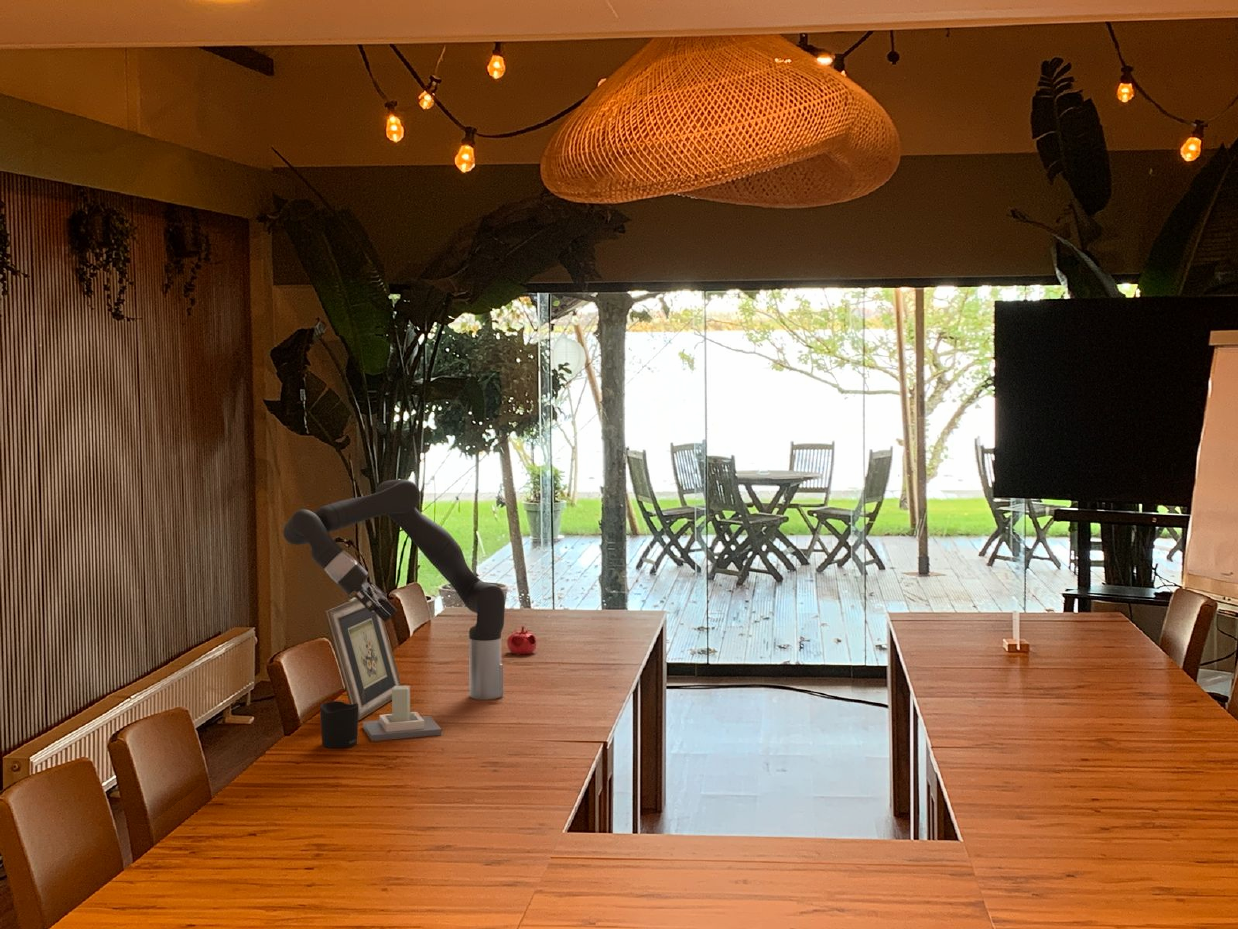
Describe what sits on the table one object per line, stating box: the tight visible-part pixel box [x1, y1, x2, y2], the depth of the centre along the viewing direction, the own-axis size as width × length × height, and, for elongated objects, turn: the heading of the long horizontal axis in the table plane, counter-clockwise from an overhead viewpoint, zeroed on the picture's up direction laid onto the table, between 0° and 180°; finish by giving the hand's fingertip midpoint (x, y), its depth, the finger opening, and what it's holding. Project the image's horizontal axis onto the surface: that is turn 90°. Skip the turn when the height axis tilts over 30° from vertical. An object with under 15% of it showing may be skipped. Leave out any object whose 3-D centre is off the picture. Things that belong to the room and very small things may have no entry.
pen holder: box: [319, 700, 359, 750], centre depth 317 cm, size 9×9×10 cm
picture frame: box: [324, 598, 403, 722], centre depth 355 cm, size 33×10×30 cm, turn 168°
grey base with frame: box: [362, 711, 443, 742], centre depth 330 cm, size 18×14×4 cm
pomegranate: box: [506, 625, 537, 656], centre depth 429 cm, size 10×10×9 cm
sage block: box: [391, 685, 411, 722], centre depth 330 cm, size 4×4×10 cm
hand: (391, 616), depth 326 cm, fingers open, 8 cm apart
